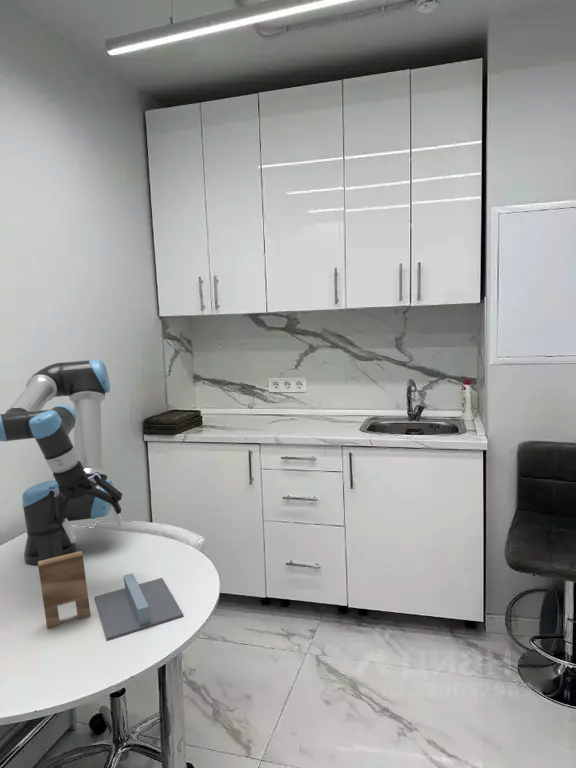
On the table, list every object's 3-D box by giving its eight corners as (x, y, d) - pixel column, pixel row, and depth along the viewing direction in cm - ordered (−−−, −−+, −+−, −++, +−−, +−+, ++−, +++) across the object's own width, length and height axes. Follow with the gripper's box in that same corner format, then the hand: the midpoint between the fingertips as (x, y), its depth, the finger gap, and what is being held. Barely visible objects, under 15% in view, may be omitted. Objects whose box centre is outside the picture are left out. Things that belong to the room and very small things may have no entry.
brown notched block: (46, 622, 134) (37, 561, 132) (89, 610, 139) (81, 550, 137) (47, 628, 132) (38, 566, 130) (90, 615, 136) (82, 555, 134)
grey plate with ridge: (94, 598, 145) (92, 582, 144) (162, 579, 152) (160, 564, 152) (106, 640, 125) (104, 621, 124) (183, 616, 133) (181, 598, 132)
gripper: (16, 488, 142) (50, 554, 148) (108, 456, 143) (139, 523, 150) (24, 476, 149) (57, 539, 155) (113, 445, 151) (141, 510, 157)
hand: (97, 532), depth 153 cm, fingers open, 13 cm apart
